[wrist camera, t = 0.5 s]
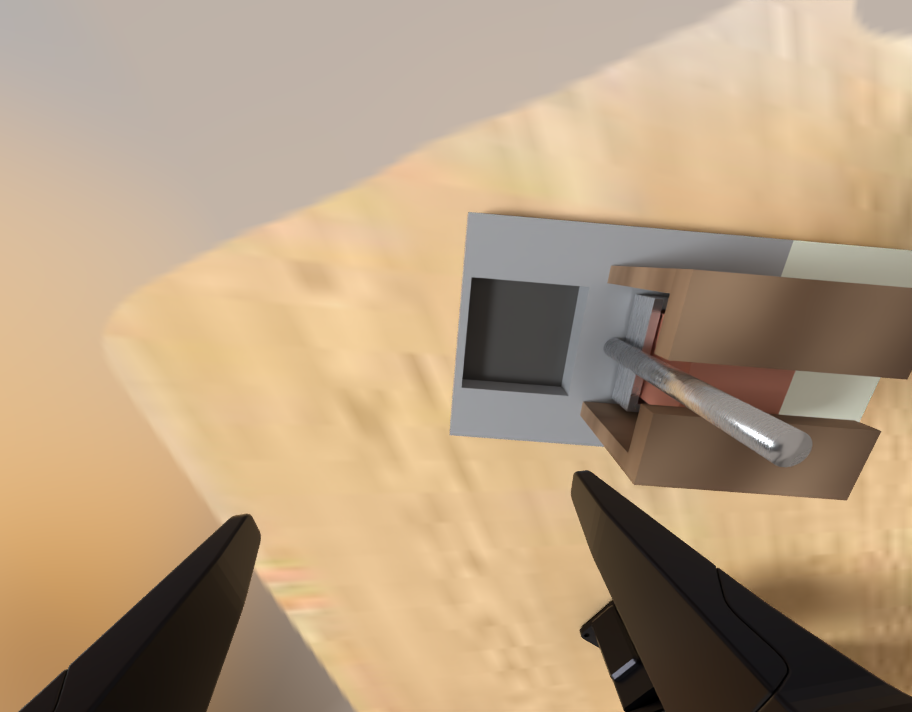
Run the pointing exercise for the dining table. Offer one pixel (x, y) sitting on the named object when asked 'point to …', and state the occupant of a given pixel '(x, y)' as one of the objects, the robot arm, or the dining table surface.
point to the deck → (610, 317)
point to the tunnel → (764, 346)
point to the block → (727, 382)
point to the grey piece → (696, 391)
